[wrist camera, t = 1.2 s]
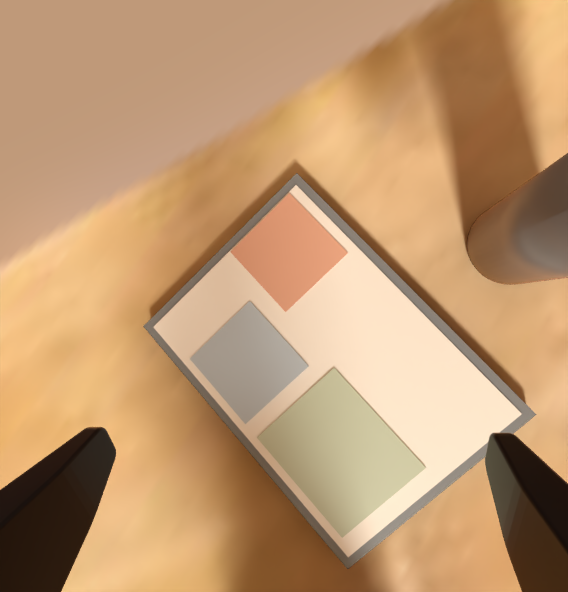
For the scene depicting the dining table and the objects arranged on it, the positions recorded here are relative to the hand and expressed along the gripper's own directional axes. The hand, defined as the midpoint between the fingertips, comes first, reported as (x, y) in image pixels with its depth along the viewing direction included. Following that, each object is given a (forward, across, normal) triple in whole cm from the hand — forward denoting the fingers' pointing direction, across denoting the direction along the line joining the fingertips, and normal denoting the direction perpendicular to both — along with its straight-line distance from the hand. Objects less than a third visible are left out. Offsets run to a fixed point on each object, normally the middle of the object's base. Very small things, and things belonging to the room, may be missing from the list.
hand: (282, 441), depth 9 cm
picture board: (+11, 0, +7) cm, 13 cm away
